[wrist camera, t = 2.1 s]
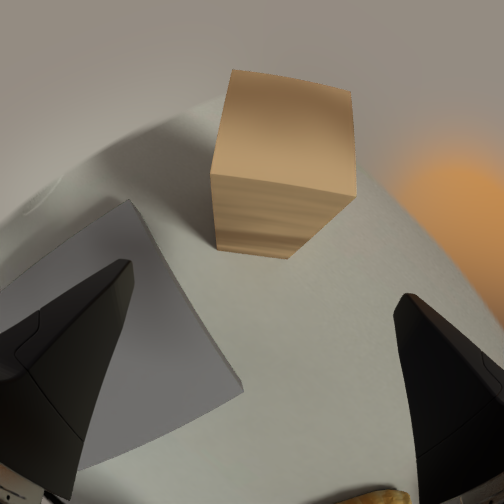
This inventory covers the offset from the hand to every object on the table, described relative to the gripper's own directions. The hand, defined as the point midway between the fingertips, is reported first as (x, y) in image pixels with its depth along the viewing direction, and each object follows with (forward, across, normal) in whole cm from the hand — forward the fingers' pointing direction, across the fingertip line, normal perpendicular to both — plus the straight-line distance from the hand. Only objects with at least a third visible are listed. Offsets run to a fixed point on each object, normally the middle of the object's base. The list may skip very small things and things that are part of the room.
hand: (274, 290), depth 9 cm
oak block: (+12, 0, +4) cm, 13 cm away
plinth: (+5, +10, +12) cm, 16 cm away
